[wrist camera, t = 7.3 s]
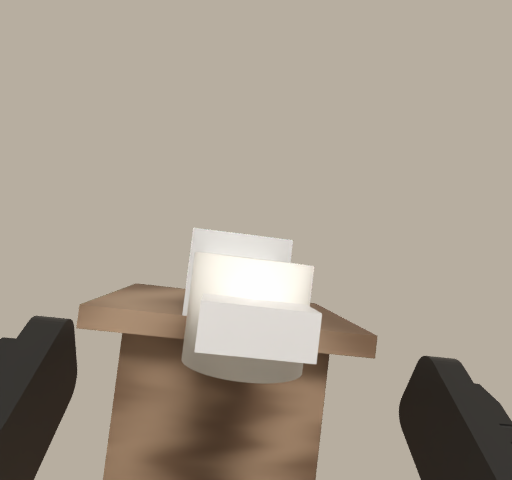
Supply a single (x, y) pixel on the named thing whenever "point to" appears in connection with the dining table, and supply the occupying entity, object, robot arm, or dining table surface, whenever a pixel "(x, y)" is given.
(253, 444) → the wooden pedestal stand
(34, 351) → the robot arm
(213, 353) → the white cylinder with crossbar
